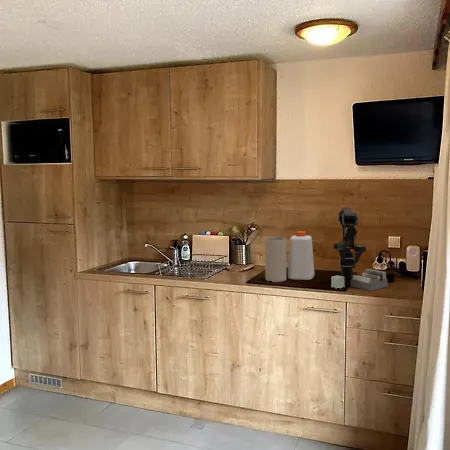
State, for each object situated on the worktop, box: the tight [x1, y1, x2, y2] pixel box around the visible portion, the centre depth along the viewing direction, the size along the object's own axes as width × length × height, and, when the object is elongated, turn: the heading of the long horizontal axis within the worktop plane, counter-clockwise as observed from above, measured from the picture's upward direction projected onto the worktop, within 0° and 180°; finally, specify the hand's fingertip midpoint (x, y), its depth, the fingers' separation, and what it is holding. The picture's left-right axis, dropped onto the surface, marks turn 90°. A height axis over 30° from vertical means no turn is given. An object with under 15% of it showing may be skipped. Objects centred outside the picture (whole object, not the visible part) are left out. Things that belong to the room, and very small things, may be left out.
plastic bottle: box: [287, 230, 315, 281], centre depth 303 cm, size 15×15×28 cm
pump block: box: [330, 275, 345, 289], centre depth 278 cm, size 5×5×6 cm
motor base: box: [350, 268, 388, 292], centre depth 278 cm, size 14×14×8 cm
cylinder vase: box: [264, 236, 287, 283], centre depth 298 cm, size 12×12×25 cm
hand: (349, 262), depth 282 cm, fingers open, 9 cm apart
